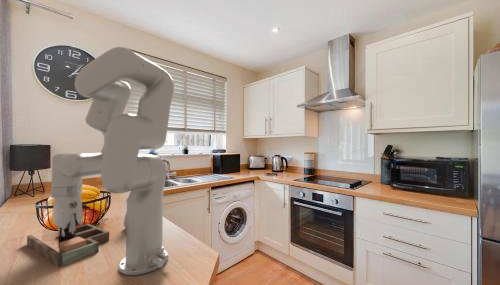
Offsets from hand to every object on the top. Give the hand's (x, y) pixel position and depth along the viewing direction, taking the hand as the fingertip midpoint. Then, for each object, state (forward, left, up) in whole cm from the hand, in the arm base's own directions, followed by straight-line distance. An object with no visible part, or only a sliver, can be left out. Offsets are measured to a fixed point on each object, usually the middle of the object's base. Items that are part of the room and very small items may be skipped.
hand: (65, 247), depth 67 cm
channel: (+3, -3, -1) cm, 5 cm away
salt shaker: (0, -22, -1) cm, 22 cm away
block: (-5, 0, -1) cm, 5 cm away
